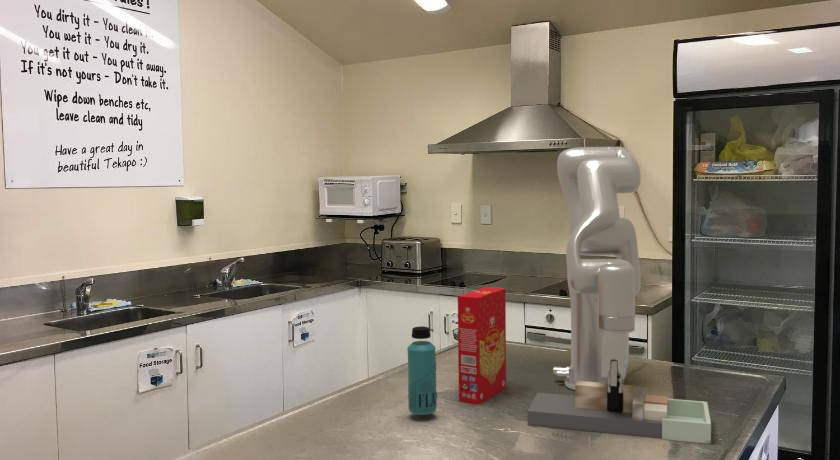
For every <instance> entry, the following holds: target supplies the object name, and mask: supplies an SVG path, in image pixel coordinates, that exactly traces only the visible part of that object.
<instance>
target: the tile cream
mask: <svg viewBox="0 0 840 460" xmlns="http://www.w3.org/2000/svg"><path fill="white" fill-rule="evenodd" d="M662 418H665V419H667V405H660V404H649V403H644V409H643V420H654V421H662Z"/></svg>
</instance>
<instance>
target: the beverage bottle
mask: <svg viewBox="0 0 840 460" xmlns="http://www.w3.org/2000/svg"><path fill="white" fill-rule="evenodd" d="M431 336H432V334H431V328H430V327H428V326H423V325H422V326H414V327H413V328H412V330H411V338H413V339H416V341H412V343H410V344H409V345H408V346H407V348H406V349H407V350H406V351H407V376H408V377H407V379H408V381H407V388H408V389H407V390H408V391H407V392H408V394H407V403H408V405H407V406H408V411H409V413H410V414H413V415H419V416H424V415H426V416H427V415H431V414H434V413H435V412H436V411H437V405H438V403H437V402H438V400H437V399H438V393H437V388H438V387H437V386H438V384H437V373H436V372H437V359H436V357H437V356H436V346H435V345H434V344H433V343H432V342H431V341H428V340H427V339H429V338H431Z"/></svg>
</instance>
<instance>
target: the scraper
mask: <svg viewBox="0 0 840 460" xmlns="http://www.w3.org/2000/svg"><path fill="white" fill-rule="evenodd" d="M607 392H608V383H598V382H585V381H577V382H576V384H575V390H574V396H575V408H584V409H595V410H605V411H608V410H607ZM622 393H623V412H626V413H632V420H633V421H643V409H644V400H645V395H646V386H637V385H635V384H634V385H632V384H624V385H622Z"/></svg>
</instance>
